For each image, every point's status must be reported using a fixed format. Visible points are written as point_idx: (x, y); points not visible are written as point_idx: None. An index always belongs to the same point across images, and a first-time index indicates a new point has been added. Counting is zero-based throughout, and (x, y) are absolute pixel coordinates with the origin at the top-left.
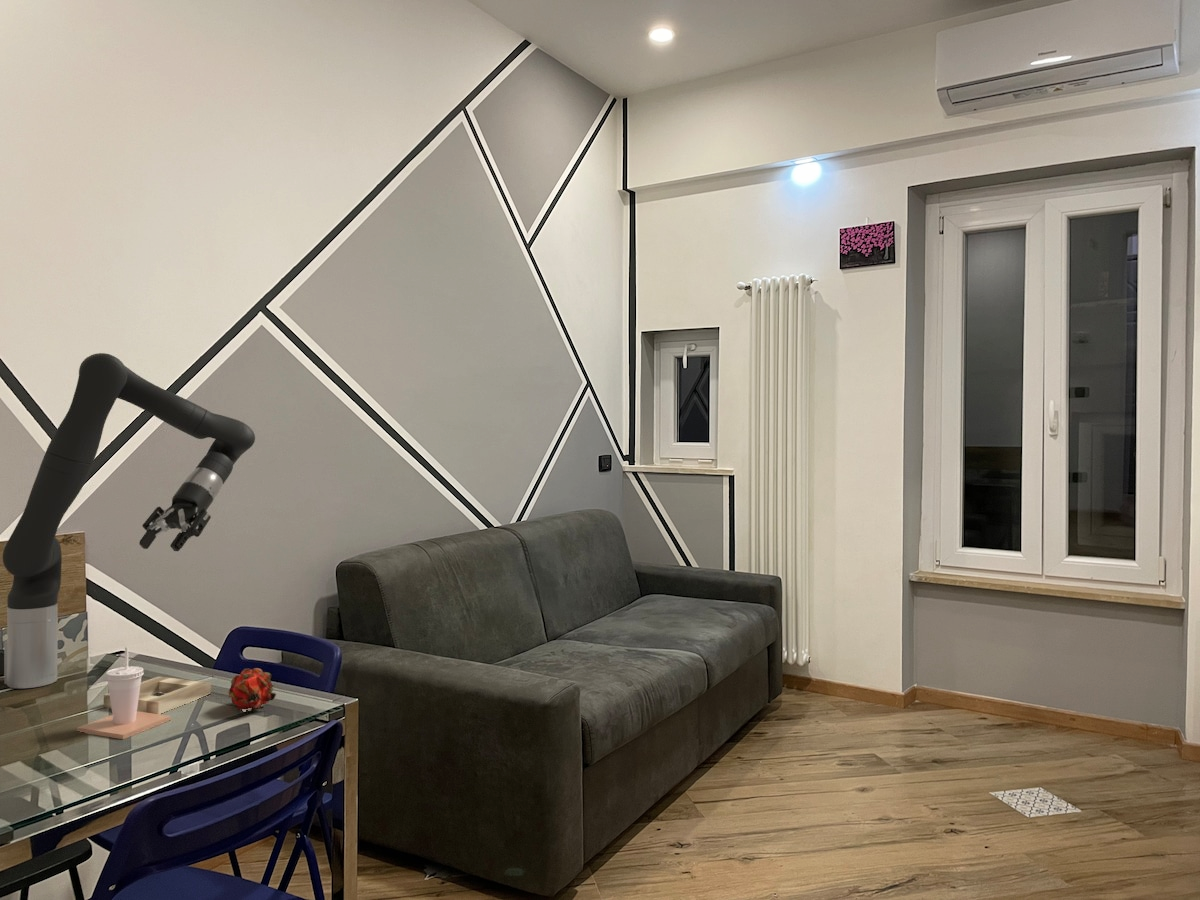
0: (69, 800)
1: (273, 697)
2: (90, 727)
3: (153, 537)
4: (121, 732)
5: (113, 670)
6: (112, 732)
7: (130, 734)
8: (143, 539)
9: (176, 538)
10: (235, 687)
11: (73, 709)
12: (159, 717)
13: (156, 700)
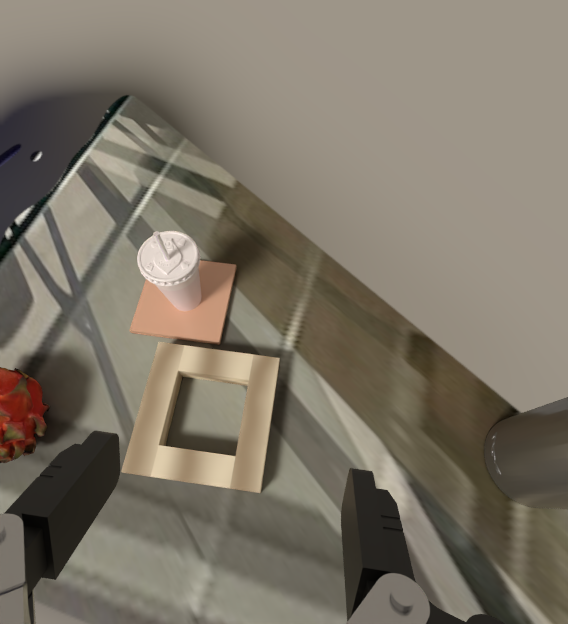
0: (110, 129)
1: None
2: (217, 268)
3: (348, 589)
4: None
5: (190, 254)
6: None
7: None
8: (358, 487)
9: (70, 467)
10: (12, 372)
11: (318, 345)
12: (143, 321)
13: (168, 350)
